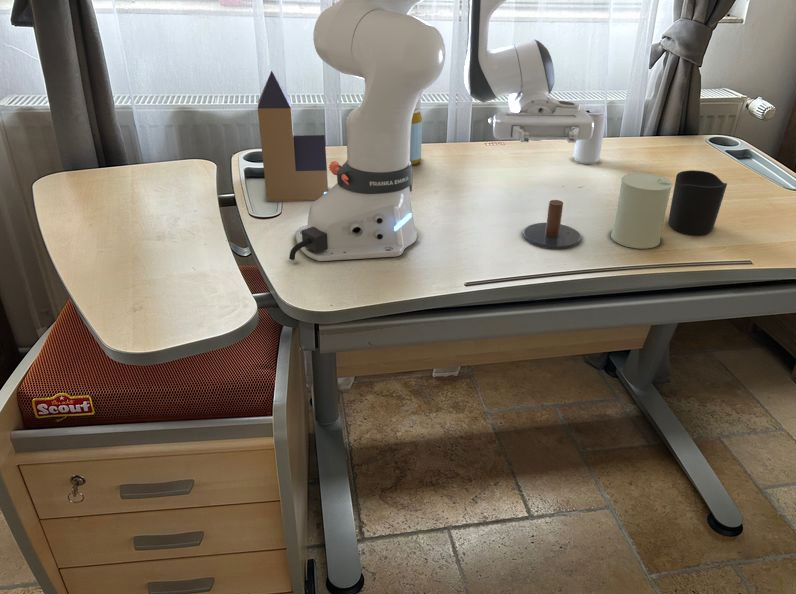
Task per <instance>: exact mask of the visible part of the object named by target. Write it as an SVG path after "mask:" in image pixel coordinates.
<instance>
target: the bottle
mask: <svg viewBox="0 0 796 594" xmlns="http://www.w3.org/2000/svg"><path fill="white" fill-rule="evenodd" d="M421 99H422V98H421V97H420V98H419V100H418V102H417V104H416V106H415V109H414V113H413V117H412V122H411V134H410V161H411V163H412V166H414V165H417V164H419V162H420V161H421V160H422V136H423V135H422V133H423V117H422V113H421Z"/></svg>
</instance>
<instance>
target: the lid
mask: <svg viewBox="0 0 796 594" xmlns="http://www.w3.org/2000/svg"><path fill="white" fill-rule="evenodd" d="M563 210H564V202H563V201H562V200H560V199H551V200H549V201H548V208H547V216H546V222H538V223H533V224H530V225H528V226H526V227H525V228H524V230H523V238H524V239H525V241H527V242H528V243H529V244H532V245H533V246H536V247H540V248H544V249H551V250H565V249H571V248H573V247H575V246H577V245H579V244H580V242H581V234H580V232H579V231H577V230H576V229H575V228H573V227H571V226H569V225H567V224H562V217H563Z"/></svg>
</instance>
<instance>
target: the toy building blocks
mask: <svg viewBox="0 0 796 594" xmlns="http://www.w3.org/2000/svg"><path fill="white" fill-rule="evenodd" d="M257 115H258V125H259V126H258V127H259V136H260V137H259V138H260V144H261V145H260V146H261V155H262V164H263V175H264V184H265V185H264V186H265V194H266V202H267V203H268V202H271V203H272V202H296V201H297V202H299V201H316V200H318V199H319V198H320V197H321V196H323V195H324V192H327V191H329V184H328V183H329V182H328V166H327V163H328V162H327V153H326V152H327V150H326V149H327V148H326V135H325V134H316V135H315V134H314V135H313V134H312V135H311V134H310V135H308V134H307V135H294V124H293V111H292V99H291V98H290V96H289V94H288V93H287V92H286V90H285V89H284V87H283V85H282V84H281V83H280V81H279V79H278V78H277V77H276V75H275V73H274V72H273V70H271V71H270V72H269V75H268V78H267V80H266V82H265V84H264V87H263V89H262V92H261V94H260V96H259V99H258V103H257Z"/></svg>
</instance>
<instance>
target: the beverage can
mask: <svg viewBox="0 0 796 594" xmlns="http://www.w3.org/2000/svg"><path fill="white" fill-rule="evenodd" d="M581 110H583V111H584V112H586V113H587V114H588V115H589V116H590V117H591V118H592V120H593V121H594V129H593V135H592V138H591V139H589V140H577V141H576V143H574V148H573V153H572V154H573V155H572V156H573V157H572V158H573V159H574V160H575V162H577V163H580V164H583V165H593V164H596V163H597V162H598V161H600V160H601V159H600V158H601V153H602V147H603V140H604V134H605V129H606V122H607V116H606V111H605V110H603V109H601V108H595V107H586V108H581Z"/></svg>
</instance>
